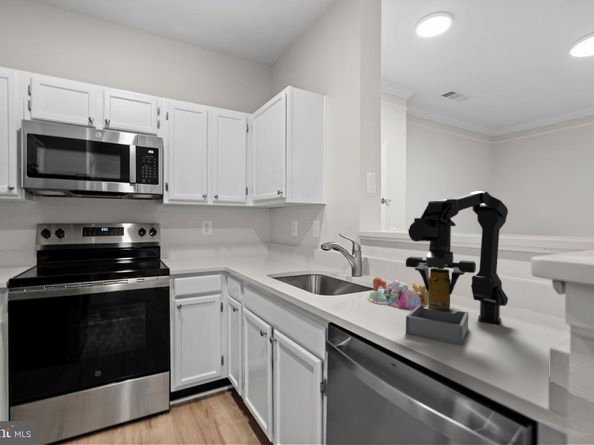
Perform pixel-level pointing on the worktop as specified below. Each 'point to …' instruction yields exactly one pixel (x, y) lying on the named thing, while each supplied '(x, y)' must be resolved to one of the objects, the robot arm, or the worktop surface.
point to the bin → (437, 324)
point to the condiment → (439, 291)
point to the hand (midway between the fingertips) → (439, 292)
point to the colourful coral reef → (398, 294)
